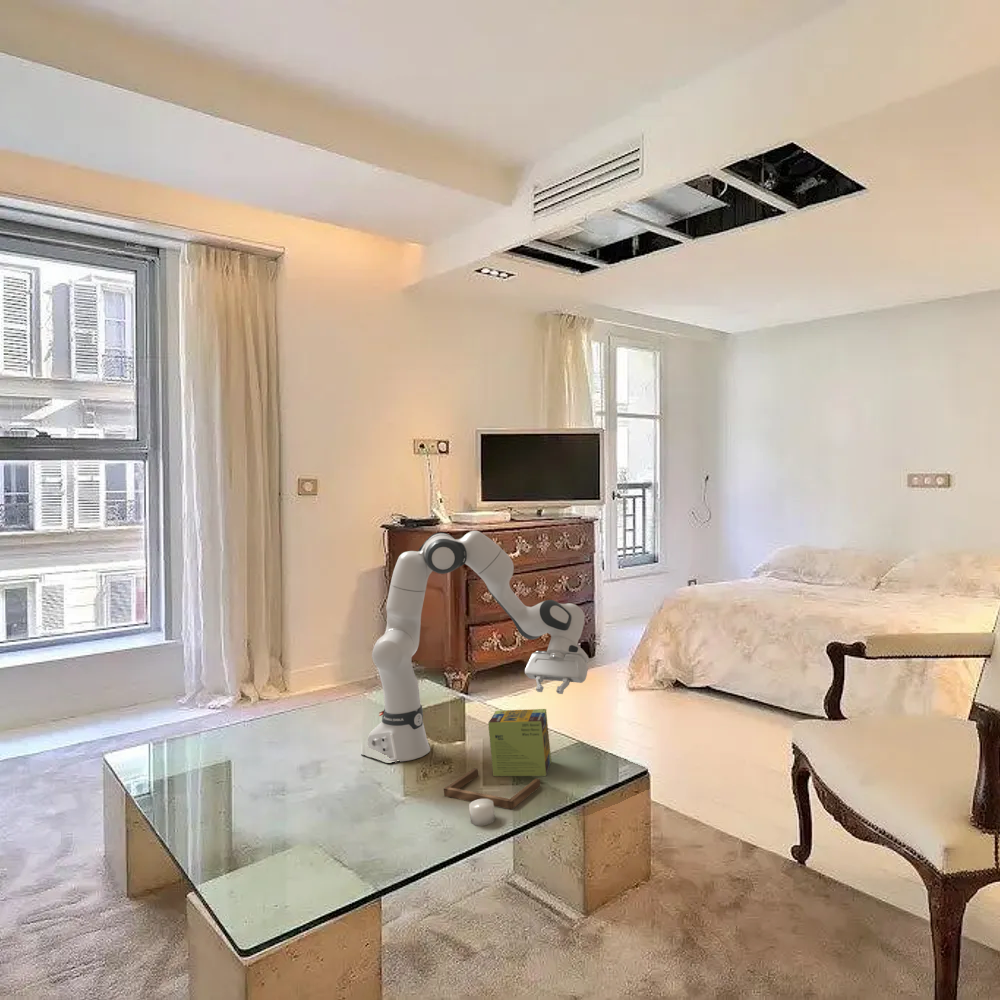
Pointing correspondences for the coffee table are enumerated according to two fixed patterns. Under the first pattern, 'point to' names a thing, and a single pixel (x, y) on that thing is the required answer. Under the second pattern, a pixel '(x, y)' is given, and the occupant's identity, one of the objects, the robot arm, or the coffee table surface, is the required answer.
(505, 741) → the protein box
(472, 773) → the open wooden frame
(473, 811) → the white rounded block
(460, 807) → the coffee table surface
